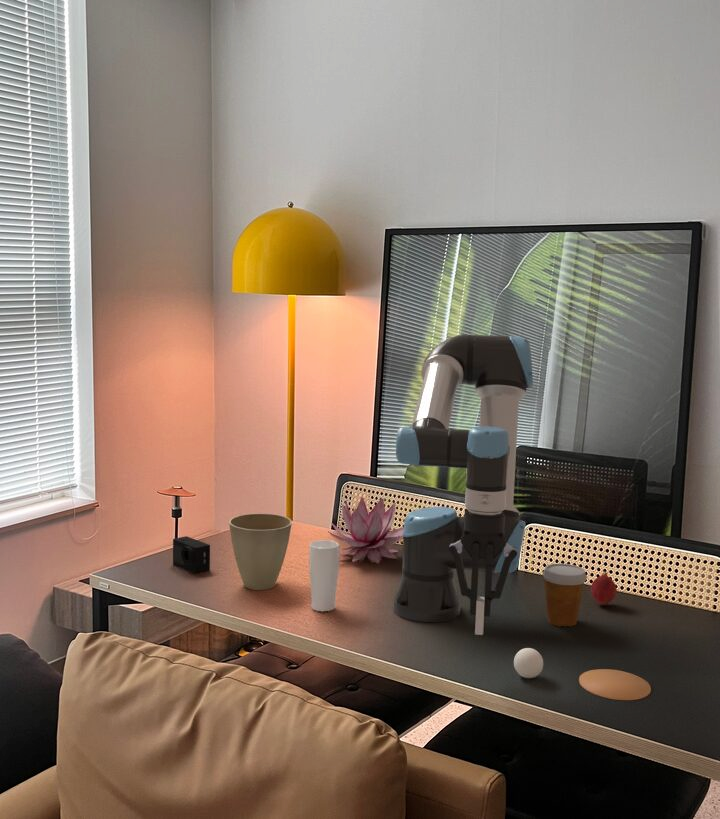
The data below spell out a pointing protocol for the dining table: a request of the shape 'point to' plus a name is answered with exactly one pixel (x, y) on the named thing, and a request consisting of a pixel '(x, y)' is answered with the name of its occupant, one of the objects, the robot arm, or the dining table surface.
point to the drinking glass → (323, 574)
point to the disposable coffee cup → (563, 593)
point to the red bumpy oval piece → (603, 589)
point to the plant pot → (260, 547)
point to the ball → (528, 663)
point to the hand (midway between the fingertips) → (479, 632)
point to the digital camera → (191, 555)
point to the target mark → (614, 684)
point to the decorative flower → (369, 531)
